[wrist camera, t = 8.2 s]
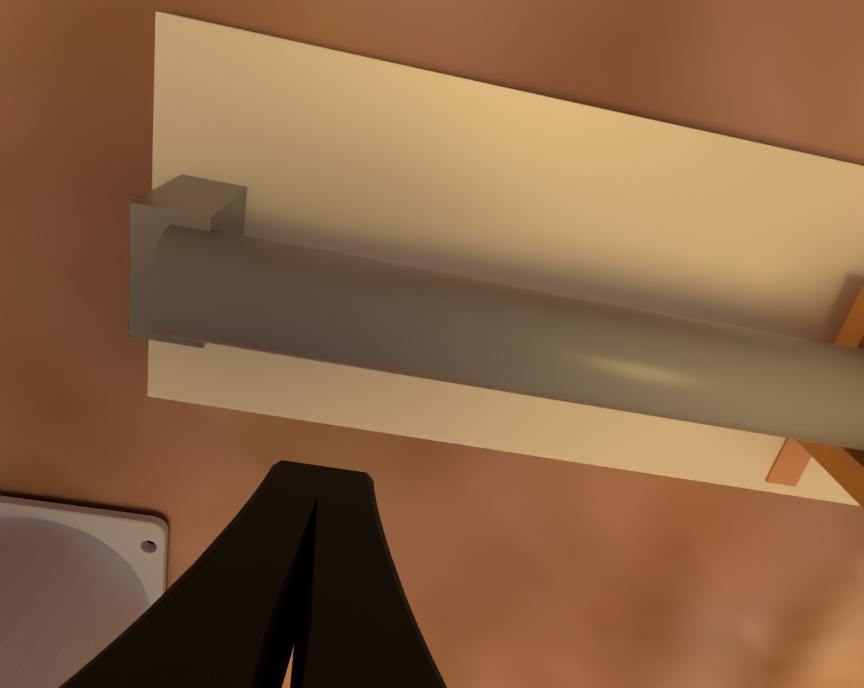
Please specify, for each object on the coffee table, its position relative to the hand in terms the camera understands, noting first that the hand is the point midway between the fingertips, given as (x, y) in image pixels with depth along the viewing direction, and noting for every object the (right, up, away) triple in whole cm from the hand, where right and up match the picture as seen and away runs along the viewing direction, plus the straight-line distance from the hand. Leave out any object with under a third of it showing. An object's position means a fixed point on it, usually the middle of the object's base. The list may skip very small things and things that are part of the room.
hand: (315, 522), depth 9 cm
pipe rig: (+8, +4, +9) cm, 13 cm away
